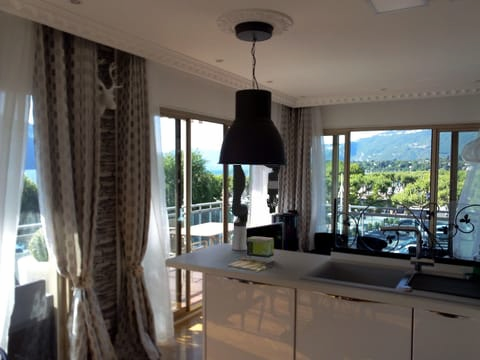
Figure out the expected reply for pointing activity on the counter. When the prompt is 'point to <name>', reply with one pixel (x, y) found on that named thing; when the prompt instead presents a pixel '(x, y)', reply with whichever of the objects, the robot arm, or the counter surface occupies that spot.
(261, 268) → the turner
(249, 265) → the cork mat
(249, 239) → the tea box
